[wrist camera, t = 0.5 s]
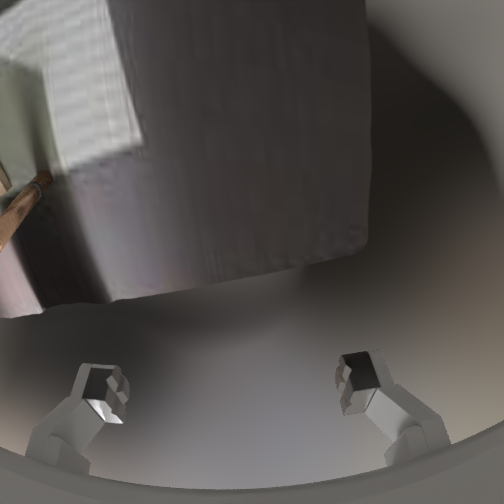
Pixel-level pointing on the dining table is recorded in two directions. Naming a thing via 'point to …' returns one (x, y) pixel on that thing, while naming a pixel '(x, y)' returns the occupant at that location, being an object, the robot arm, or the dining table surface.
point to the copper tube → (22, 205)
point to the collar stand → (4, 182)
